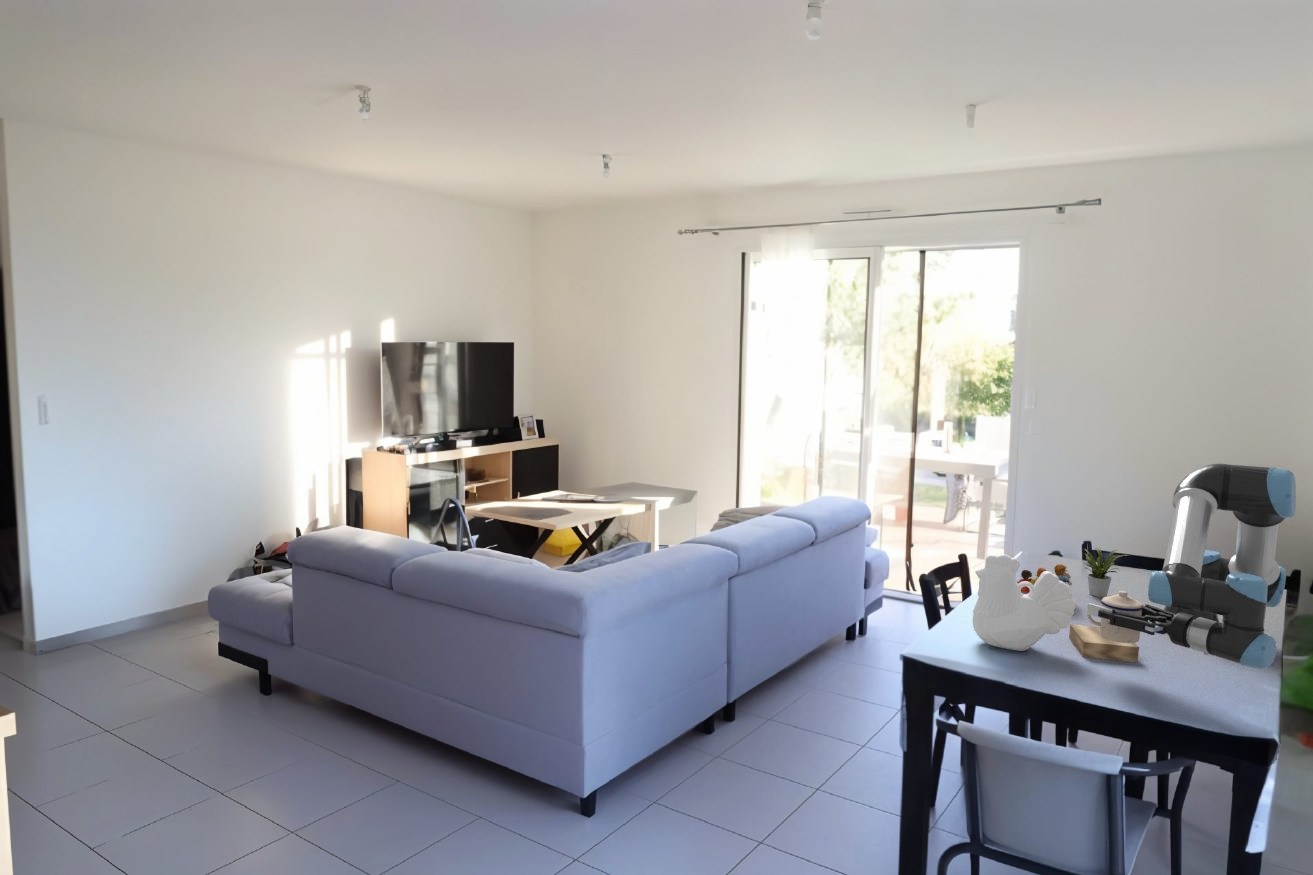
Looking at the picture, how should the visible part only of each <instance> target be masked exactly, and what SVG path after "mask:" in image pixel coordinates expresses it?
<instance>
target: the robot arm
mask: <svg viewBox="0 0 1313 875" xmlns="http://www.w3.org/2000/svg"><path fill="white" fill-rule="evenodd" d="M1171 503H1172V506H1173V508H1174V514H1173V520H1172V524H1171V529H1170V534H1169V538H1168V541H1167V542H1168V543H1167V548H1166V553H1165V558H1164V562H1163V566H1162V570H1153V571H1151V573H1150V575H1149V579H1148V587H1147V588H1148V590H1147V597H1148V600H1149V601H1150V602H1151V603H1154V604H1158V605H1162V606H1164V607H1163V609H1162V608H1160V607H1156V606H1153V605H1150V604H1148V603H1147V604H1144V605H1143V609H1142V615H1141V616H1137V615H1131V614H1125V613H1119V612H1115V609H1109V608H1105V607H1102V605H1099V606H1098V605H1097V604H1094V603H1092V602H1087V609H1086V615H1087V614H1088V615H1090V616H1092V617H1096V618H1099V619H1101V618H1102V619H1105V620H1109V621H1110V625H1115V626H1119V627H1123V628H1127V629H1132V630H1136V631H1140V633H1144V634H1147V635H1150V636H1154V635H1155V634H1158V635H1166V634H1167V635H1168V638H1169V640H1170V642H1172V644H1174V645H1177V646H1180V647H1184V648H1186V649H1187V648H1188V649H1190V648H1191V649H1192V650H1194V651H1198V652H1201V653H1203V655H1204V656H1209V655H1210V656H1214V657H1216V658H1217V657H1218V658H1220V659H1224V660H1227V661H1229V662H1230V661H1231V662H1233V663H1236V664H1240V665H1241V666H1247V667H1250V668H1255V669H1259V670H1266V669H1267V668H1269V667H1270V666H1272V664H1273V662H1274V661H1275V658H1276V656H1277V649H1278V648H1277V642H1276V640H1275V638H1274V637H1273V636H1271V635H1268V634H1266V633H1265V620H1266V612H1267V608H1275V607H1276V608H1277V606H1278V605H1280V603H1281V601H1282V598H1283V596H1284V590H1285V586H1286V580H1287V571H1286V568H1285V567H1284V566H1281V565H1280V564H1279V563H1278V562H1277V561H1276V552H1277V540H1278V532H1279V525H1280V524H1282V523H1283V522H1284V520H1286V519H1287V518H1293V517H1294V516H1295V514H1296V507H1297V505H1296V504H1297V484H1296V477H1295V475H1294V473H1293V472H1292V471H1291V470H1289V469H1285V468H1284V469H1283V468H1277V467H1269V466H1268V467H1267V466H1266V467H1265V466H1256V465H1255V466H1252V465H1240V464H1239V465H1238V464H1228V463H1227V464H1226V463H1211V464H1208V465H1204V466H1202V467H1198V468H1197V469H1196V470H1193V471H1192V472H1190V473H1189V474H1188V475H1186V476H1185V477H1184V478H1183V479H1182V480H1181V481H1180V482H1179V483H1178V485H1177V486H1176V488H1175V490H1174V492H1173V497H1172V502H1171ZM1217 510H1221V511H1226V512H1232V514H1233V516H1234V518H1235V519H1237V530H1236V532H1237V533H1236V546H1235V554H1234V555H1233V556H1231V559H1230V558H1223V557H1222V554H1221V552H1219V551H1214V550H1210V549H1206V546H1207V541H1208V535H1209V528H1210V523H1211V518H1212V516H1213V515H1214V514H1215V513H1216V512H1217ZM1219 616H1222V622H1220V620H1219Z"/></svg>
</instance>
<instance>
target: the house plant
mask: <svg viewBox="0 0 1313 875" xmlns="http://www.w3.org/2000/svg"><path fill="white" fill-rule="evenodd" d="M1095 550H1096V552H1097V554H1098V557H1097V559H1096V560H1095V558H1094V555H1092V553H1090V551H1088V550H1087V549H1086V548H1084V551H1086V553H1085V559H1086V561H1087V562H1082V564H1083V565H1086V566H1088V567H1090V568H1091V569H1089V568H1088V567H1084V568H1083V569H1085V570H1086V569H1087V570H1088V571H1090V572H1091V573H1088V574H1087V584H1088V595H1090V596H1092V595H1094V596H1093V597H1097V598H1098V597H1099V598H1104V597H1108V593H1109V589H1110V585H1111V581H1112V578H1113V577H1111V576H1109V575H1107V574H1108V573H1118V571H1116V570H1119V568H1117V567H1113V568H1111V566H1113V565H1114V564H1115V562H1114V561H1115V560H1116V559H1118V558H1121V557H1123V556H1125V557H1126V556H1129V557H1130V555H1128V554H1122V555H1119V554H1117V555H1116V554H1115V552H1117V551H1118V549H1114V550H1112V551H1110V552H1108V554H1107V555H1106V557H1105V559H1104V558H1103V552H1102V549H1101V548H1097V547H1095ZM1081 553H1083V554H1084V552H1081ZM1113 554H1115V555H1113ZM1103 559H1104V560H1103Z"/></svg>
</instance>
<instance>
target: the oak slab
mask: <svg viewBox="0 0 1313 875" xmlns="http://www.w3.org/2000/svg"><path fill="white" fill-rule="evenodd" d="M1068 639H1069V640H1070V642H1071V643H1072V644H1073V646H1074V647H1075V648H1076V649H1077V651H1078V652H1079V654H1080V655H1081V656H1082V657H1083V658H1092V659H1100V658H1102V659H1101V660H1111V661H1112V660H1113V661H1120V660H1123V661H1122V662H1130V663H1131V662H1132V663H1139V650H1140V647H1139V646H1138V645H1137V643H1120V642H1114V641H1111V640H1108V639H1105V638H1103V637H1102V636H1101V635H1100V626H1092V625H1081V624H1071V623H1070V624H1069V636H1068Z"/></svg>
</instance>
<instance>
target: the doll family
mask: <svg viewBox="0 0 1313 875" xmlns="http://www.w3.org/2000/svg"><path fill="white" fill-rule="evenodd" d="M1053 569H1054V574H1055V575H1057V576H1058V578H1059V580H1060V581H1062V582H1064V583H1065V584H1066V585H1067V584H1068V586H1072V585H1073V582H1072V581H1071V577H1072V576H1071V575H1070V574H1069V573H1067V572H1068V570H1067V566H1065V565H1064V564H1062V563H1060V564H1056V565H1055V566H1054V567H1053ZM1044 571H1048V570H1047V569H1046V568H1044V567H1039V568H1038V569H1037V570H1036V574H1034V575H1035V576H1036V578H1032V577H1033V574H1032V573H1033V572H1032V571H1031V570H1027V569H1023V570H1022V571H1021V574H1020V575H1021V576H1020V577H1021V578H1020V579H1019V580H1016V581H1017V585H1018V584H1019V583H1020V582H1023V581H1028V582H1030V583H1031V584H1032V585H1034V584H1035V582H1036V580H1037V579H1038V578H1039V576H1040V575H1041V574H1042V573H1043V572H1044ZM1029 592H1030V589H1029V588H1028V587H1027V586H1024V587H1022V588H1021V593H1022V594H1028V593H1029Z"/></svg>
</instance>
